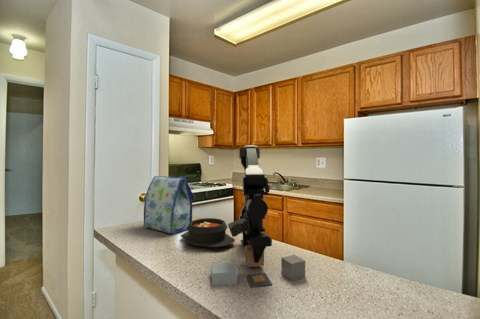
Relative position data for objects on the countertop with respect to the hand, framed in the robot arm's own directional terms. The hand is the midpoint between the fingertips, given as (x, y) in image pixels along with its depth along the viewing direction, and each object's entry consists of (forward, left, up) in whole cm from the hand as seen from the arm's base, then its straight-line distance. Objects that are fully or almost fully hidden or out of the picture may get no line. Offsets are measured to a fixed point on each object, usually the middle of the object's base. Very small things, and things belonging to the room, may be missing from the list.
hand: (254, 259), depth 80 cm
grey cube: (+8, +10, -2) cm, 13 cm away
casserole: (-26, -14, -3) cm, 30 cm away
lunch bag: (-50, -32, -3) cm, 60 cm away
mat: (+9, -1, -2) cm, 9 cm away
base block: (+6, -11, -3) cm, 12 cm away
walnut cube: (0, 0, -1) cm, 1 cm away
